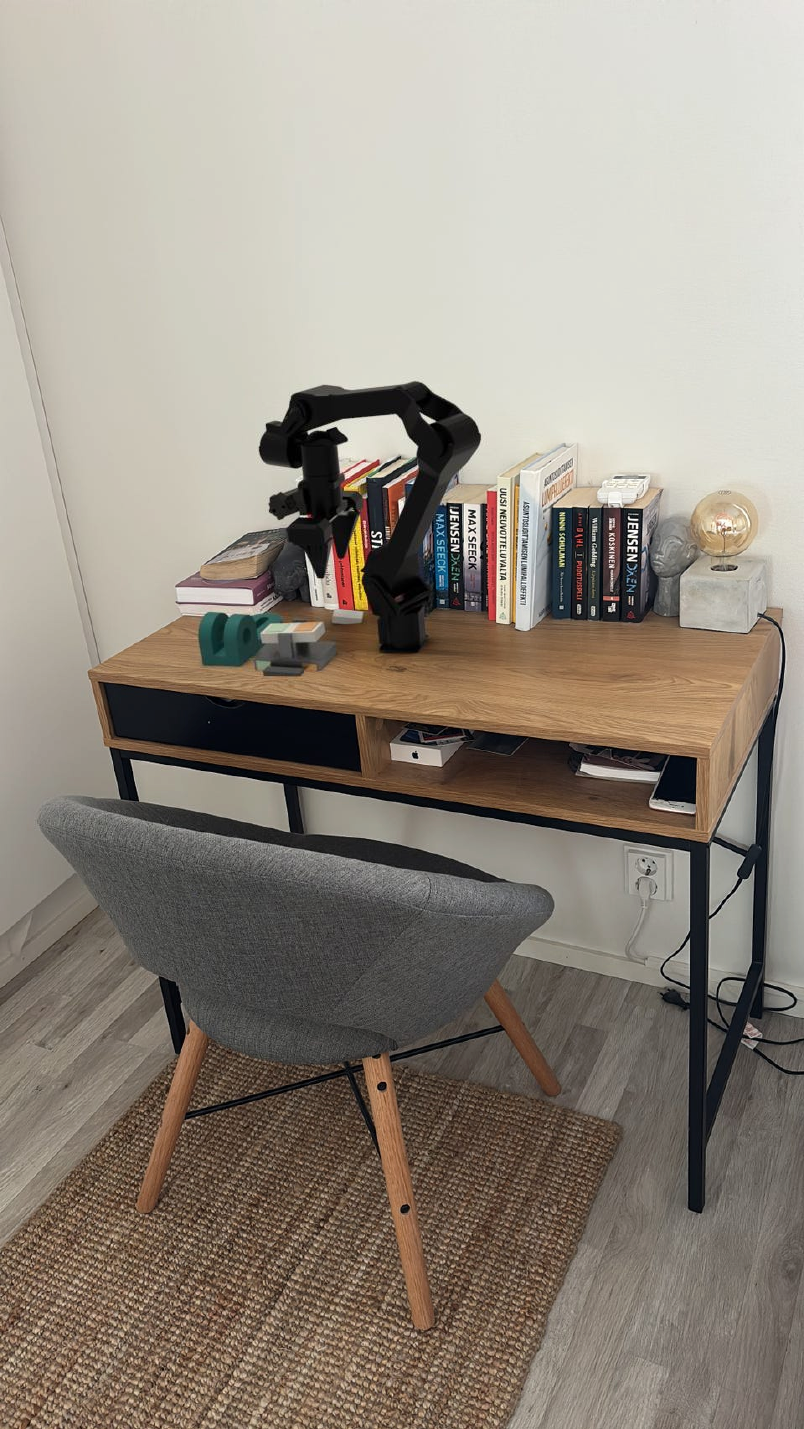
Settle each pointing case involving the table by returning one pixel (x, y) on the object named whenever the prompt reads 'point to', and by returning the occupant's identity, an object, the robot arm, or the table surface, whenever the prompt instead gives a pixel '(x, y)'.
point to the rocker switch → (294, 631)
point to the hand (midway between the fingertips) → (331, 568)
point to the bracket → (232, 637)
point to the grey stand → (295, 653)
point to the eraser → (347, 616)
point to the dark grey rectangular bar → (282, 671)
